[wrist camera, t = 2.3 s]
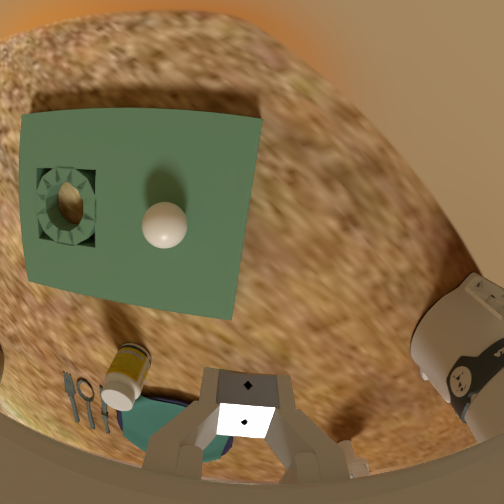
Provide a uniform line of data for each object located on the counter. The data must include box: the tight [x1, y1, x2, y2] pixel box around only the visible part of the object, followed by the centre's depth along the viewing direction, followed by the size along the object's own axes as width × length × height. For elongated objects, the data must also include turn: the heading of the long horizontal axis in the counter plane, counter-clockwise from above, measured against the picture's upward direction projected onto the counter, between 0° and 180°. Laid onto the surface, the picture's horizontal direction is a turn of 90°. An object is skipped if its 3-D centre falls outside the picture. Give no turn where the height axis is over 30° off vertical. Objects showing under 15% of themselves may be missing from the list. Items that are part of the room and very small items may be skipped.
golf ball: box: [142, 202, 187, 249], centre depth 25 cm, size 4×4×4 cm
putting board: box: [19, 108, 263, 320], centre depth 27 cm, size 26×20×2 cm
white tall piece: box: [337, 440, 370, 478], centre depth 38 cm, size 7×7×15 cm
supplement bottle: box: [101, 343, 151, 411], centre depth 32 cm, size 5×5×8 cm
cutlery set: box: [63, 371, 233, 463], centre depth 41 cm, size 20×30×2 cm, turn 75°
